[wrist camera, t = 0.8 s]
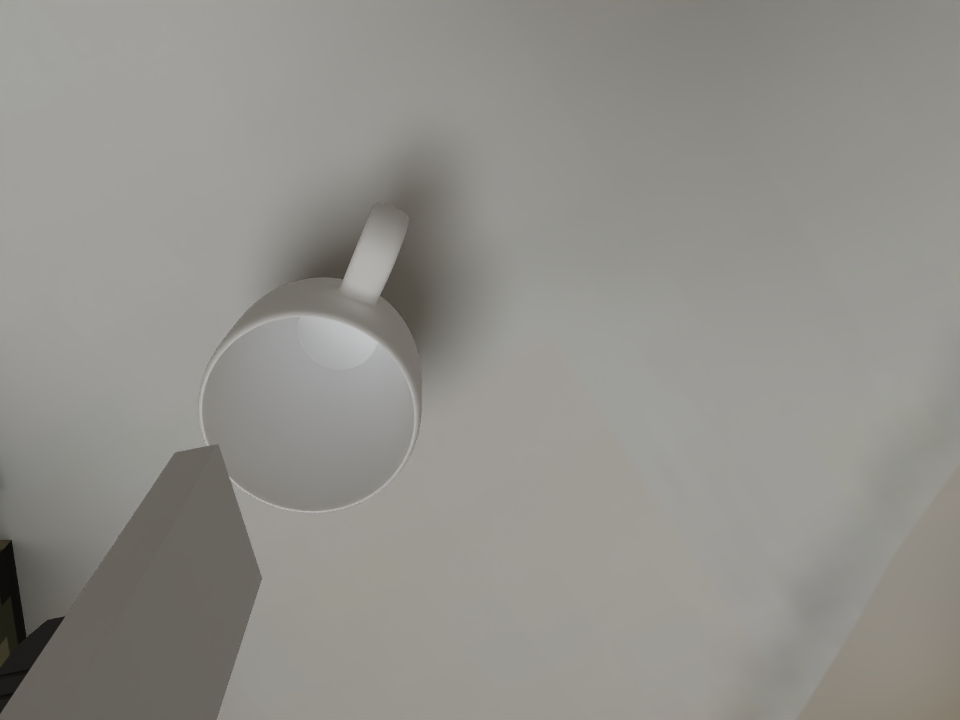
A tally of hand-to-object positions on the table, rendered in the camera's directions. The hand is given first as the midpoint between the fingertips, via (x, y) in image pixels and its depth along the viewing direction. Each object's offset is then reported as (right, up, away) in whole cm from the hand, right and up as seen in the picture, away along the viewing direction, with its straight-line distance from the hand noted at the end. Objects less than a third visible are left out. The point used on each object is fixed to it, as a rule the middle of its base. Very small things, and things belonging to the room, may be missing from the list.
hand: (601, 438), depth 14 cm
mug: (-8, +5, +27) cm, 28 cm away
